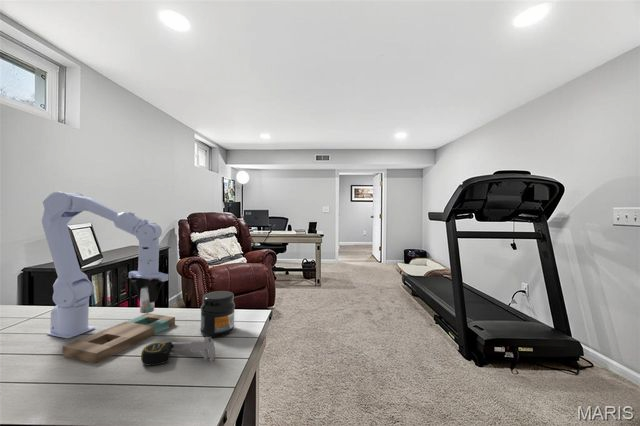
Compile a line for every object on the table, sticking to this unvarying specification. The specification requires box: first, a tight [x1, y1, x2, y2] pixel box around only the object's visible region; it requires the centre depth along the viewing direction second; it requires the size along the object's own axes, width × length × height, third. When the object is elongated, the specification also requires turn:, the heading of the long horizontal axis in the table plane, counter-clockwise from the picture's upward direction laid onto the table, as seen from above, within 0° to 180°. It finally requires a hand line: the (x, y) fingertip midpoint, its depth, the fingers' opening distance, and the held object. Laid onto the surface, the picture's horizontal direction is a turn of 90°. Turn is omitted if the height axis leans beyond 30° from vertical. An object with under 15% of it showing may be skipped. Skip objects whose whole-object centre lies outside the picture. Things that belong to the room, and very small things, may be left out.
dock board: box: [62, 312, 176, 364], centre depth 85 cm, size 12×26×2 cm, turn 164°
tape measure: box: [140, 341, 174, 366], centre depth 73 cm, size 7×7×4 cm
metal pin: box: [139, 286, 155, 314], centre depth 92 cm, size 4×4×8 cm
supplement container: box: [200, 290, 236, 338], centre depth 92 cm, size 10×10×12 cm
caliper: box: [161, 336, 216, 362], centre depth 77 cm, size 21×1×6 cm, turn 69°
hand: (147, 300), depth 92 cm, fingers closed on metal pin, 4 cm apart
